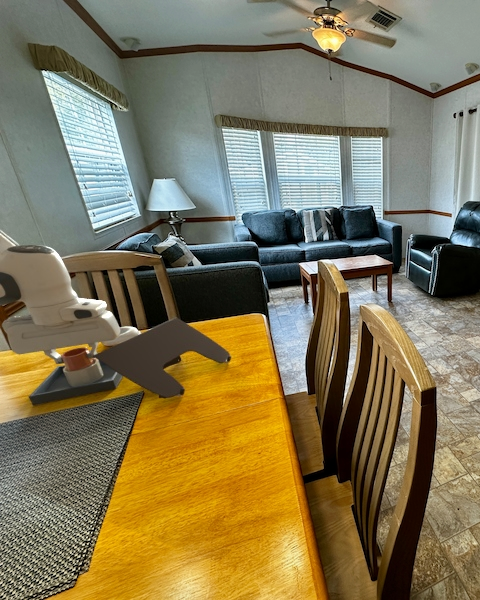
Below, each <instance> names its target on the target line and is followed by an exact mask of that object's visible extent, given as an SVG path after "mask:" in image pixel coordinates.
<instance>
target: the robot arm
mask: <svg viewBox="0 0 480 600" xmlns="http://www.w3.org/2000/svg"><path fill="white" fill-rule="evenodd" d="M16 302H22V303H24V304H25V307H26V309H27V312H28V313H29V314H26V315H21V316H20V315H19V316H11V317H7V319H5V320H4V321H3V322H2V324H1V327H2V329H3V330H4V333H5V334H6V335H7V340H8V343H9V347H10V349H11V351H12V352H13V353H14V354H16V355H25V354H26V355H27V354H33V353H39V352H43V353H44V355H45V356H47V357H49V358H50V359H52V360H54V362H55V365H61V364H62V365H63V364H64V361H63V359H62V357H61V355H62V354H60V353H58V352H57V351H56V350H58V349H64V348H71V347H78V346H84V345H88V347H89V348H91V349H90V350H89V349H88V352H87V353H86V354H87V356H88V359H92V358H95V357H93V355H95V354H98V351H97V349H98V347H99V344H100V343H101V342H103V341H110V340H115V339H116V338H117V337H118V335H119V334H120V328H119V327H120V326H119V323H118V320H117V319H116V317H115V315H114V314H113V313H112V312H111V311H109V310H107V307H108V306H107V303H106V301H103V300H96V299H89V298H88V299H87V298H81V297H78V294H77V292H76V291H75V290H74V289H73V287H72V279H71V276H70V273H69V271H68V268H67V266H66V265H65V263H64V261H63V259H62V257H61V256H60V255H59V253H58V252H57V251H56V250H55V249H54V248H52V247H49V246H46V245H40V244H20V243H18V242H17V241H16V240H14V238H12V237H10V236H9V235H8V234H7V233H5V232H4V231H3V230H2V229H0V307H1V306H5V305H8V304H13V303H16Z"/></svg>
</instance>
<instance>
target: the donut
mask: <svg viewBox="0 0 480 600" xmlns="http://www.w3.org/2000/svg"><path fill="white" fill-rule="evenodd" d="M119 328H120V334H119V335H118V337H117V338H116V339H115V340H110V341H103V342H100V343H101V344H102V345H103V346H106V347H113V346H115V345H117V344H119V343H121V342H124V341H126V340H128V339H130V338H132V337H135V336H137V335H139V334H140V331H139V329H137V328H136V327H133V326H121V327H120V326H119Z"/></svg>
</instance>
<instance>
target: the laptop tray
mask: <svg viewBox="0 0 480 600" xmlns="http://www.w3.org/2000/svg"><path fill="white" fill-rule="evenodd" d="M189 352H194V353H197V354H199V355H200V356H202V357H204V358H207V359H209V360H211V361H213V362H215V363H218V364H227V365H228V364H230V363H231V360H232V355H231V354H230V352H229V351H228V350H227V349H225V348H224V347H223V346H222V345H220V344H219V343H217V342H216V341H215V340H213V339H212V338H210V337H208V336H207V335H206V334H204V333H203V332H201V331H200V330H198V329H196V328H195V327H193V326H191V325H190V324H188V323H186V322H184V321H183V320H181V319H180V318H178V317H174V318H171V319H169V320H167V321H165V322H163V323H161V324H158V325H156V326H154V327H152V328H150V329H148V330H145V331H143V332H141V333H139V334H138V335H137V336H135V337H132V338H130V339H128V340H126V341H124V342H121V343H119V344H117V345H115V346H110V347H109V348H107V349H104V350H102V351H100V352H97V354H95V355H93V357H95V358H96V359H98V360H99V361H101V362H102V363H104V364H105V365H107V366H108V367H110V368H111V369H113V370H114V371H116V372H117V373H119V374H121V375H122V376H123V378H126V379H127V380H129V381H130V382H132V383H134V384H136V385H138V386H139V387H141V388H143V389H145V390H147V391H149V392H151V393H152V394H155V395H157V396H158V399H170V398H174V397H178V398H182V397H184V395H185V391H186V388H185V387H184V386H183V385H182V384H181V383H180V382H179V381H178V380H177V379H176V378H175V377H173V375H171V374H170V373H169V372H167V371H166V370H165V369H167V368H169V367H172V366H175V365H178V364H180V363H181V362H182V357H181V356H182V355H184V354H186V353H189Z"/></svg>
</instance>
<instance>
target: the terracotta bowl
mask: <svg viewBox="0 0 480 600" xmlns="http://www.w3.org/2000/svg"><path fill="white" fill-rule="evenodd" d="M88 351H89V349H88V347H86V346H83V347H76V348H72V349H68V350H66V351H65V352H63V353H61V354H60V355H61V357H62V359H63V361H64V363H63V364H64V365H65V366H66V368H67V370H69V371H75V370H80V369H83V368H85V367H88V366H89V365H91V364H92V363H93V361H92V359H88V356H87V354H86V353H87V352H88Z"/></svg>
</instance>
